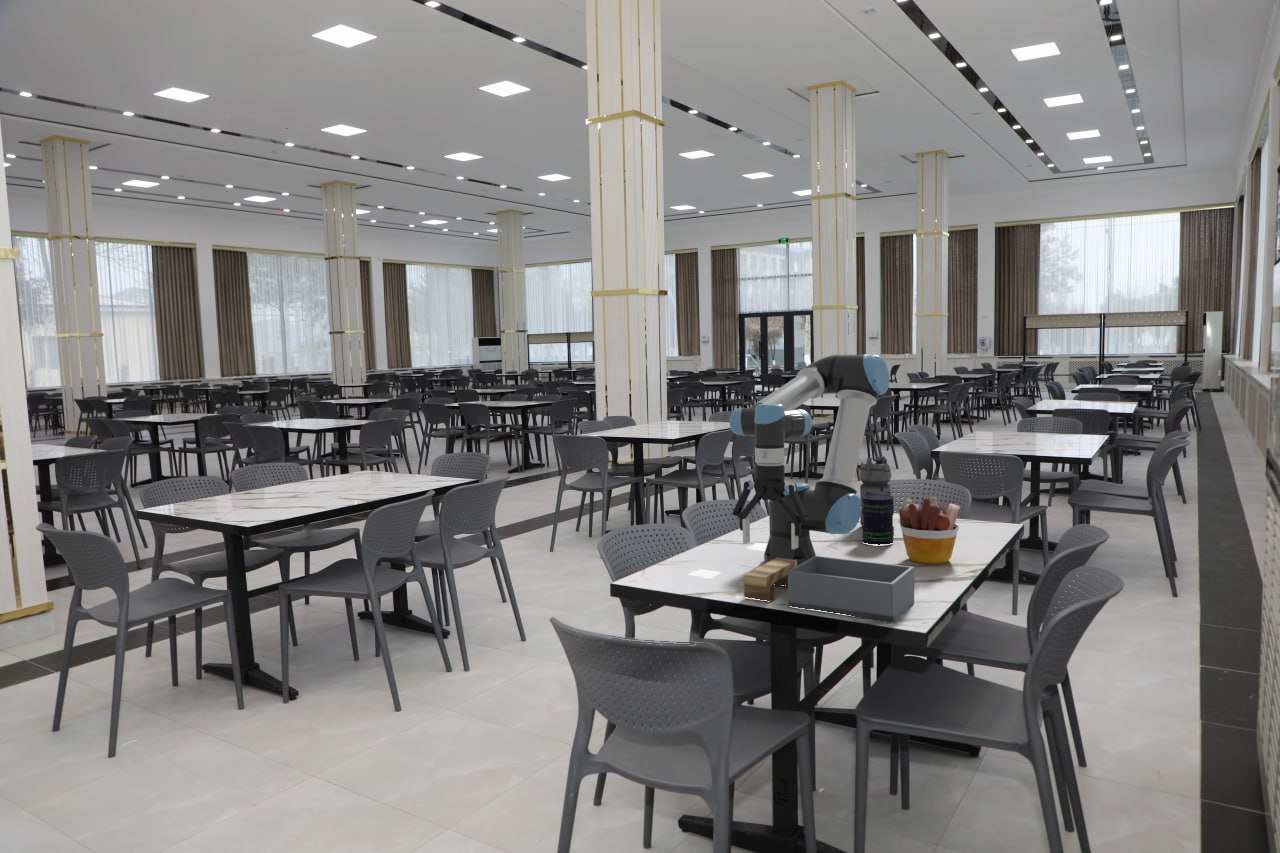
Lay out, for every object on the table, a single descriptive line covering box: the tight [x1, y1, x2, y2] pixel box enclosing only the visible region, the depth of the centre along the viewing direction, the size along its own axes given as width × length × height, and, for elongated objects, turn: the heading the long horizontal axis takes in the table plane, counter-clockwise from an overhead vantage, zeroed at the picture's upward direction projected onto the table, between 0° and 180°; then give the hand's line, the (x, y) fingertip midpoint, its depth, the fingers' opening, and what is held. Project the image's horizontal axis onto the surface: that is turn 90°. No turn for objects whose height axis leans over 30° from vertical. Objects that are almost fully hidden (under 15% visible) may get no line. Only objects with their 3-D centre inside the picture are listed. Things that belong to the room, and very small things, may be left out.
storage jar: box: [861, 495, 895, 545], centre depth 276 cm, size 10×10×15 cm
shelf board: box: [743, 558, 797, 587], centre depth 224 cm, size 20×6×2 cm, turn 147°
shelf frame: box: [787, 555, 915, 623], centre depth 210 cm, size 26×18×9 cm
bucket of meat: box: [898, 496, 961, 565], centre depth 252 cm, size 20×16×20 cm
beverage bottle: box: [859, 455, 892, 527], centre depth 300 cm, size 10×13×25 cm
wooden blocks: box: [743, 575, 788, 602], centre depth 224 cm, size 18×7×4 cm, turn 147°
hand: (770, 545), depth 223 cm, fingers open, 13 cm apart
